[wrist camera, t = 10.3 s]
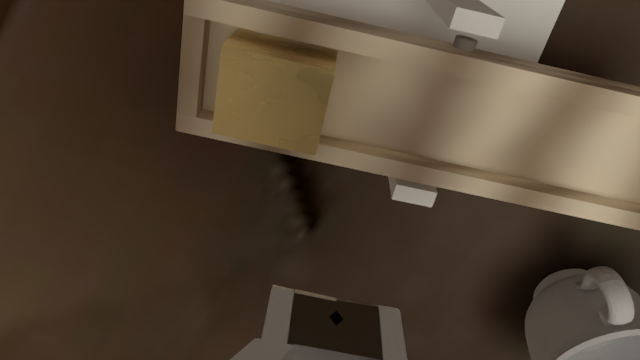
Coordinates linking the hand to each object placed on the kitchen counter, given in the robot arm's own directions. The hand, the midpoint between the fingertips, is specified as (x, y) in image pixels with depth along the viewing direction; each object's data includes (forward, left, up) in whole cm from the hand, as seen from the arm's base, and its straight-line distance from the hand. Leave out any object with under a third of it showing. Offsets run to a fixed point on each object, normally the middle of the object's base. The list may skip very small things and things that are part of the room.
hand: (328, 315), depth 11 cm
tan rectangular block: (+2, +2, -16) cm, 16 cm away
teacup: (-27, -6, -24) cm, 37 cm away
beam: (-4, -4, -19) cm, 20 cm away
